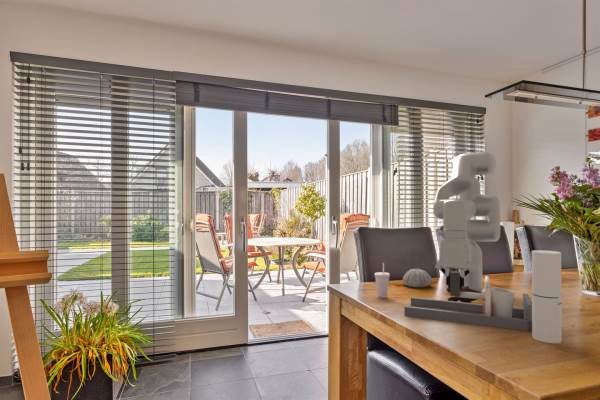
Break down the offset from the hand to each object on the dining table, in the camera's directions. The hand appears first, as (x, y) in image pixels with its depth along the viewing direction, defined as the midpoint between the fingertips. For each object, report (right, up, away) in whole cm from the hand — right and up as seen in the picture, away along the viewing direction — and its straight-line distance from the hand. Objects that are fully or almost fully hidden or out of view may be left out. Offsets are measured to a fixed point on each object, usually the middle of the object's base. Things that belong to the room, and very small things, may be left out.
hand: (455, 287), depth 131 cm
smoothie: (-20, -10, +26) cm, 34 cm away
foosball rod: (+5, -9, -2) cm, 11 cm away
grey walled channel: (+4, -10, -2) cm, 11 cm away
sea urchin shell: (+1, -10, +47) cm, 48 cm away
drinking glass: (+13, -10, -6) cm, 17 cm away
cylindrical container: (+17, -10, -23) cm, 30 cm away
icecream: (+11, -10, +16) cm, 22 cm away
